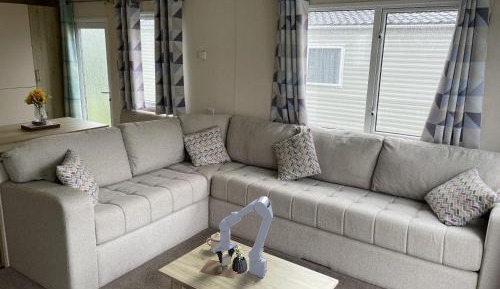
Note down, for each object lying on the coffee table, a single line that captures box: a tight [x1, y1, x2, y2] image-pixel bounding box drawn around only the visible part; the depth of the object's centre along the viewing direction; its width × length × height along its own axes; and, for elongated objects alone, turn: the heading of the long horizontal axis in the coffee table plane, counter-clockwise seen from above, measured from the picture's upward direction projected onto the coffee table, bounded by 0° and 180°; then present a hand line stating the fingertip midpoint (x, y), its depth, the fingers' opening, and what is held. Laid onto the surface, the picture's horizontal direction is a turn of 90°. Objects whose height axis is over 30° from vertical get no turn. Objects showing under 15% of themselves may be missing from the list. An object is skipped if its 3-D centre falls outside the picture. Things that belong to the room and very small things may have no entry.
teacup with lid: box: [205, 231, 225, 254], centre depth 244 cm, size 12×9×12 cm
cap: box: [221, 252, 232, 266], centre depth 226 cm, size 5×5×4 cm
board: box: [199, 258, 239, 279], centre depth 223 cm, size 20×14×4 cm
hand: (225, 261), depth 226 cm, fingers closed on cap, 5 cm apart
